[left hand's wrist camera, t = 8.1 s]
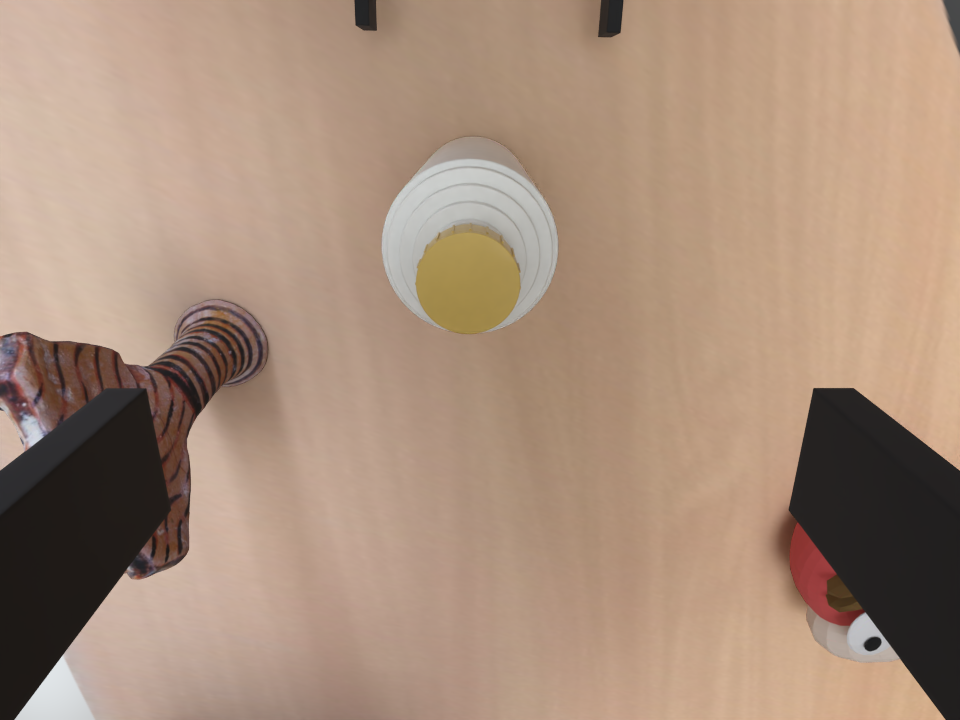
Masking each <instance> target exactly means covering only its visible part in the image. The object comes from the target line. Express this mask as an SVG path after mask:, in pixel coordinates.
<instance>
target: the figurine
mask: <svg viewBox="0 0 960 720" xmlns="http://www.w3.org/2000/svg"><path fill="white" fill-rule="evenodd" d="M174 339H175V343H174V344H173V345H172V346H171V347H170V348H169V349H168V350H167V351H166V352H164V353H163V354H162V355H161V356H160V357H158V358H157V359H156V360H155V361H154V362H153V363H152V364H150V365H149V366H145V367H142V366H139V365H128V364H124V362H123V360H122V358H121V356H120V354H119V353H118V352H116V351H114V350H112V349H109V348H106V347H102V346H97V345H91V344H86V343H77V342H71V341H48V340H44V339H42V338H40V337H37V336H35V335H33V334H31V333H28V332H16V333H11V334H7V335H4V336H0V410H2V411H5V413H6V414H7V415H8V417H9V418H10V420H11V421H12V423H13V424H14V426H15V428H16V430H17V432H18V434H19V437H20V439H21V441H22V444H23V446H24V452H25V451H26V450H28V449H29V448H30V447H31V446H33V445H34V444H35V443H37V442H38V441H39V440H40V439H42V438H43V437H44V436H46V435H47V434H48V433H49V432H51V431H52V430H53V429H55V428H56V427H57V426H58V425H60V424H61V423H62V422H64V421H65V420H66V419H67V418H69V417H70V416H71V415H73V414H74V413H75V412H76V411H78V410H79V409H80V408H82V407H83V406H84V405H85V404H87V403H88V402H89V401H91V400H92V399H93V398H94V397H96V396H97V395H98V394H100V393H101V392H102V391H103V390H105V389H106V388H146V389H147V394H148V398H149V403H150V408H151V413H152V418H153V423H154V428H155V433H156V438H157V443H158V447H159V452H160V457H161V462H162V467H163V472H164V477H165V482H166V487H167V491H168V496H169V501H170V506H171V511H170V512H169V514H168V515H167V516H166V518H165V519H164V520H163V522H162V523H161V524H160V526H159V527H158V528H157V530H156V531H155V532H154V534H153V535H152V536H151V538H150V539H149V540H148V542H147V543H146V544H145V546H144V547H143V548H142V550H141V551H140V552H139V554H138V555H137V556H136V558H135V559H134V560H133V562H132V563H131V564H130V566H129V567H128V568H127V570H126V571H125V572H124V573H127V574H128V575H129V577H130V578H131V579H135V580H140V579H143V578H147V577H149V576H151V575H153V574H155V573H158V572H161V571H164V570H167V569H169V568H171V567H173V566H175V565H176V564H178V563H179V562H180V561H181V560H182V559H183V558H184V557H185V556H186V555H187V553H188V550H189V513H190V512H189V507H190V492H191V474H190V461H189V454H188V450H187V437H188V434H189V431H190V429H191V427H192V425H193V423H194V421H195V419H196V417H197V416H198V415H199V413H200V412H201V411H202V410H203V409H204V408H205V406H206V404H207V403H208V402H209V401H210V399H211V398H212V396H213V395H214V394H215V393H216V392H217V391H218V389H219V388H220V387H230V386H236V385H239V384H242V383H245V382H246V381H248V380H250V379H252V378H253V377H254V376H256V375H257V374H258V373H259V372H260V371H261V370H262V369H263V367H264V365H265V363H266V360H267V340H266V336H265V334H264V333H263V331H262V329H261V327H260V325H259V324H258V323H257V322H256V321H255V320H254V318H253V317H252V316H251V315H250V314H248V313H247V312H246V311H245V310H243V309H242V308H240V307H238V306H236V305H235V304H232V303H229V302H225V301H222V300H208V301H205V302H202V303H200V304H198V305H195V306H192V307H190V308H189V309H187V310H186V311H185V312H184V313H183V314H182V316H181V317H180V318H179V319H178V322H177V324H176V326H175V331H174Z"/></svg>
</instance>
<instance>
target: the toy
mask: <svg viewBox="0 0 960 720" xmlns="http://www.w3.org/2000/svg"><path fill="white" fill-rule="evenodd" d="M790 569H791V573H792V576H793V579H794V582H795V585H796V587H797V589H798V590H799V592H800V594H801V595H802V597H803V599H804V600H805V602H806V603H807V604H808V605H807V614H806V616H807V622H808V625H809V627H810V629H811V632H812V634H813V637H814V639H815V641H817V642H818V643H819V644H820V645H821V646H823V647H824V648H825V649H827V650H828V651H829V652H830V653H832V654H833V655H835V656H838V657H840V658H845V659H849V660H853V661H857V662H864V663H867V662H890V661H894V660H898V659H900V658H899V657H898V655H897V654H896V653H895V651H894V650H893V649H892V647H891V646H890V645H889V643H888V642H887V641H886V639H885V638H884V637H883V635H882V634H881V633H880V631H879V630H878V629H877V627H876V626H875V625H874V623H873V622H872V621H871V619H870V618H869V617H868V615H867V614H866V613H865V611H864V610H863V609H862V607H861V606H860V605H859V603H858V602H857V601H856V599H855V598H854V597H853V595H852V594H851V593H850V591H849V590H848V589H847V587H846V586H845V585H844V583H843V582H842V580H841V579H840V578H839V576H838V575H837V574H836V572H835V571H834V570H833V568H832V567H831V566H830V564H829V563H828V562H827V560H826V559H825V558H824V556H823V555H822V554H821V552H820V551H819V550H818V548H817V547H816V546H815V544H814V543H813V542H812V540H811V539H810V538H809V536H808V535H807V534H806V532H805V531H804V530H803V528H802V527H801V526H800V524H799V523H798V522H797V524H796V526H795V528H794V532H793V536H792V540H791V547H790Z"/></svg>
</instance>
